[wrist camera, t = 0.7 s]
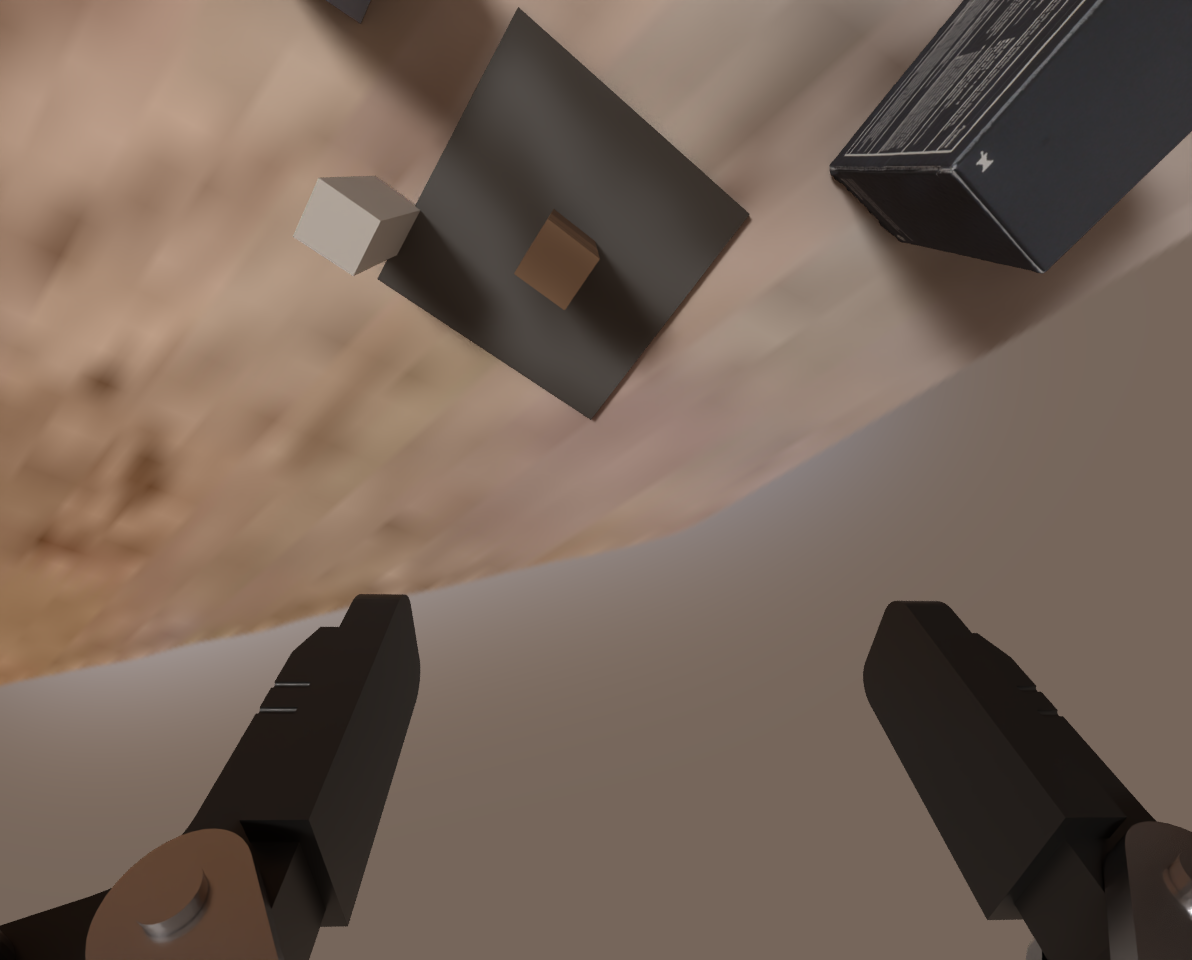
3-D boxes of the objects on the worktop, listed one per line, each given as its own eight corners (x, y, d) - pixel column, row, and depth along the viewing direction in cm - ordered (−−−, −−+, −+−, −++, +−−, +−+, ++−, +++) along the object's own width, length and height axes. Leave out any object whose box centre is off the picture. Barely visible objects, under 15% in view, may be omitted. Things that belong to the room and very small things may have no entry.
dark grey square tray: (519, 9, 25) (500, -43, 19) (747, 213, 29) (793, 225, 23) (379, 277, 30) (329, 305, 24) (590, 417, 34) (593, 470, 28)
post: (375, 175, 28) (318, 177, 22) (422, 209, 29) (380, 220, 23) (352, 222, 29) (292, 236, 23) (399, 253, 30) (353, 276, 24)
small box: (903, 250, 30) (1045, 286, 21) (822, 169, 28) (939, 170, 19) (1082, 56, 26) (1351, -3, 17) (1002, -55, 24) (1258, -188, 15)
